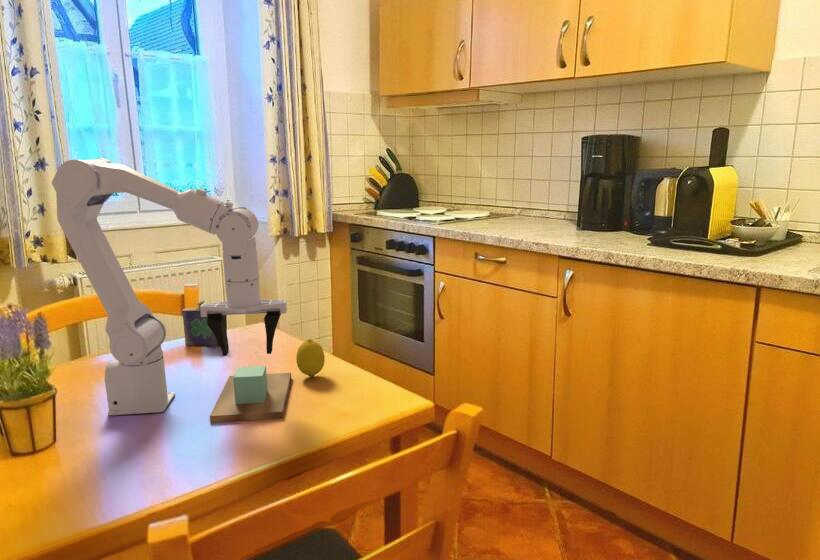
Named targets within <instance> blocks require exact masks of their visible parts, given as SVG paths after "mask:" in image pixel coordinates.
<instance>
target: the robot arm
mask: <svg viewBox="0 0 820 560" xmlns="http://www.w3.org/2000/svg"><path fill="white" fill-rule="evenodd" d="M51 185H52V187H53V189H54V191H55V193H56V218H57V222H58V224H59V226H60V227H61V230H62V232H63V233H64V235H65V237H66V239H67V241H68V243H69V244H70V245H69V246H71V248H72V250H73V252H74V254H75V257H76V258H77V260H78V262H79V263H80V265H81V267H82V269H83V271H84V273H85V276H86V277H87V279H88V280H89V282H90V284H91V286H92V288H93V290H94V292H95V294H96V295H97V297H98V299H99V301H100V303H101V305H102V307H103V309H104V310H105V312H106V315H107V318H106V325H105V332H106V334H107V335H108V339H109V340H108V341H109V350H110V353H111V355H112V356H113V358H114V359H111V360H109V361H108V362H107V364H106V367H105V369H104V386H105V393H106V399H107V401H106V402H107V407H108V411H107V416H120V415H135V414H136V415H137V414H138V415H139V414H150V413H151V414H152V413H153V414H154V413H163V412H165V410H166V409H167V407H168V406H169V405H170V404H171V401H172V400H173V398H174V397H175V395H176V392H175V391H169V392H168V385H167V378H166V369H165V360H164V359H165V358H164V351H163V349H162V344H163V343H164V342H165V340H166V337H167V329H166V326H165V324H164V322H163V321H162V320H161V319H160V318H158V317H156V315H154V313H153V312H152V310H151V308H150V307H149V306H148V305H146V304H145V303H143V302H141V301H140V300H139V299H138V296H137V295H136V293H135V291H134V289H133V287H132V285H131V283H130V281H129V280H128V278H127V275H126V274H125V272H124V269H123V268H122V265H121V264H120V261H119V260H118V258H117V256H116V254H115V252H114V250H113V248H112V246H111V244H110V241H108V239H107V237H106V235H105V233H104V230H103V229H102V226H101V225H100V223H99V221H98V217H99V214H100V212H101V210H102V208H103V207H104V204H105V203H106V201H108V200H109V199H110V198H111V197H112V196H113V195H114V194H119V193H121V194H122V193H127V194H130V195H132V196H135V197H138V198H140V199H144V200H145V201H148V202H151V203H153V204H157V205H160V206H162V207H164V208H167V209H171V210H172V211H173V213H174V214H175V216H176V219H177V220H178V221H180V222H182V223H184V224H188V225H190V226H192V227H195V228H197V229H200V230H201V231H204V232H206V233H209V234H211V235H216V236H217V238H218V239H219V241H220V242H221V245H222V262H223V274H224V287H225V298H226V300H225V301H218V302H217V301H216V302H210V303H209V302H208V303H207V302H205V303H204V304H202V305H201V306H200V311H201V317H207V316H208V320H207V325H208V326H209V328H210V329H211V330H212V332H213V333H214V335H215V337H216V339H217V341H218V343H219V346H220V347H219V348H220V351H221V354H222V356H223V357H227V356H228V355H229V352H230V348H229V345H230V344H229V339H228V338H229V337H228V333H227V331H228V330H227V327H228V326H227V321H228V320H227V319H228V318H227V316H232V315H258V314H260V315H261V314H266V315H264V318H263V322H264V328H265V336H266V346H265V347H266V354H267V355H271V354H272V352H273V343H274V337H275V334H276V330H277V327H278V326H277V325H278V324H279V320H280V317H281V316H282V314H285V315H286V314H287V311H288V307H287V306H288V304H287V300H280V299H279V300H278V299H277V300H275V299H261V290H260V275H259V262H258V251H257V243H256V242H257V241H256V237H254V236H255V235H256V233H257V231H258V228H259V220H258V218H257V216H256V215H255V214H254V213H253V212H252V211H251V210H249V209H247V208H246V206H237V207H233V206H234V203H233V202H231V201H226V202H224V201H221V200H219V199H216V198H215V197H212V196H210V195H207V193H208V192H207V190H205V189H202V188H197V189H193V188H189V189H187V190H185V191H182V192H181V191H179V190H177V189H175V188H173V187H171V186H168V185H166V184H164V183H162V182H161V181H158V180H156V179H154V178H152V177H150V176H148V175H146V174H143V173H141V172H139V171H137V170H135V169H132V168H130V167H128V166H126V165H124V164H120V163H116V162H112V161H110V159H109V160H108V159H106V158H95V159H77V158H76V159H75V158H74V159H70V160H66V161H64V162H63V163H61V164H60V165H59V167H58V169H57V171H56V172H55V174H54V176H53V178H52V181H51Z"/></svg>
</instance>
